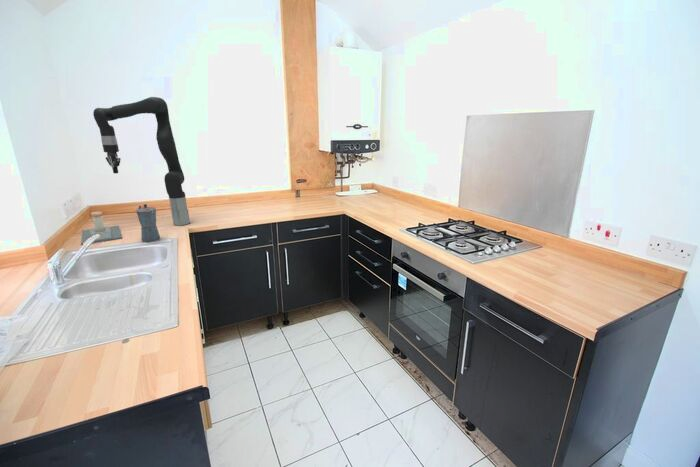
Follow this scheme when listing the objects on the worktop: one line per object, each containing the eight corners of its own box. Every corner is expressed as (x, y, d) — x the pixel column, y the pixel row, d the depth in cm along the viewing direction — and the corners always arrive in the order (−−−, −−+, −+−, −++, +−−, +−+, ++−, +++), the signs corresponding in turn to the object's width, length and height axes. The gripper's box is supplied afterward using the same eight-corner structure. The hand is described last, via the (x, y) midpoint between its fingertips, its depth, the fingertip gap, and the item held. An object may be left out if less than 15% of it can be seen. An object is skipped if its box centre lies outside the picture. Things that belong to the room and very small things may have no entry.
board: (82, 232, 198) (82, 230, 198) (119, 226, 208) (118, 225, 208) (81, 245, 177) (81, 243, 177) (122, 238, 187) (122, 237, 187)
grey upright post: (96, 235, 189) (90, 212, 185) (106, 233, 192) (101, 210, 188) (96, 237, 185) (90, 213, 181) (107, 235, 188) (101, 212, 184)
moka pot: (149, 244, 178) (142, 207, 172) (134, 239, 186) (126, 203, 180) (166, 239, 186) (160, 204, 180) (151, 234, 194) (145, 200, 187)
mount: (92, 235, 189) (90, 228, 188) (110, 232, 194) (109, 226, 193) (92, 241, 180) (90, 234, 179) (111, 238, 185) (110, 231, 184)
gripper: (97, 143, 200) (103, 173, 206) (108, 144, 194) (115, 174, 199) (111, 143, 207) (117, 171, 212) (122, 143, 200) (128, 173, 205)
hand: (116, 173), depth 206 cm, fingers closed
